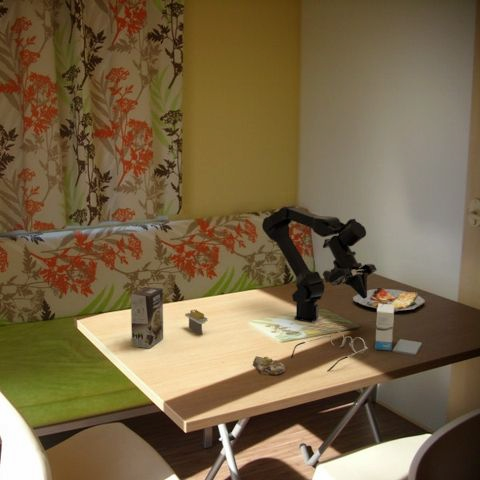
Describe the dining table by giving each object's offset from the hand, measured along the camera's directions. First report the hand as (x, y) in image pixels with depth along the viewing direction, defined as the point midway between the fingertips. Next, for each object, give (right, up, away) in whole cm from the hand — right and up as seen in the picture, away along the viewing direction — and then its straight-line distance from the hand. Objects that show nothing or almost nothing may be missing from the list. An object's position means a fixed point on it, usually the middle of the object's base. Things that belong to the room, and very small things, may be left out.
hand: (365, 298), depth 212 cm
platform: (-51, -12, +8) cm, 53 cm away
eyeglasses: (-12, -16, -12) cm, 24 cm away
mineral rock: (-30, -18, -21) cm, 41 cm away
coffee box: (-66, -13, -3) cm, 67 cm away
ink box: (+5, -14, -3) cm, 15 cm away
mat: (+11, -14, -6) cm, 19 cm away
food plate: (+15, -6, +38) cm, 42 cm away
